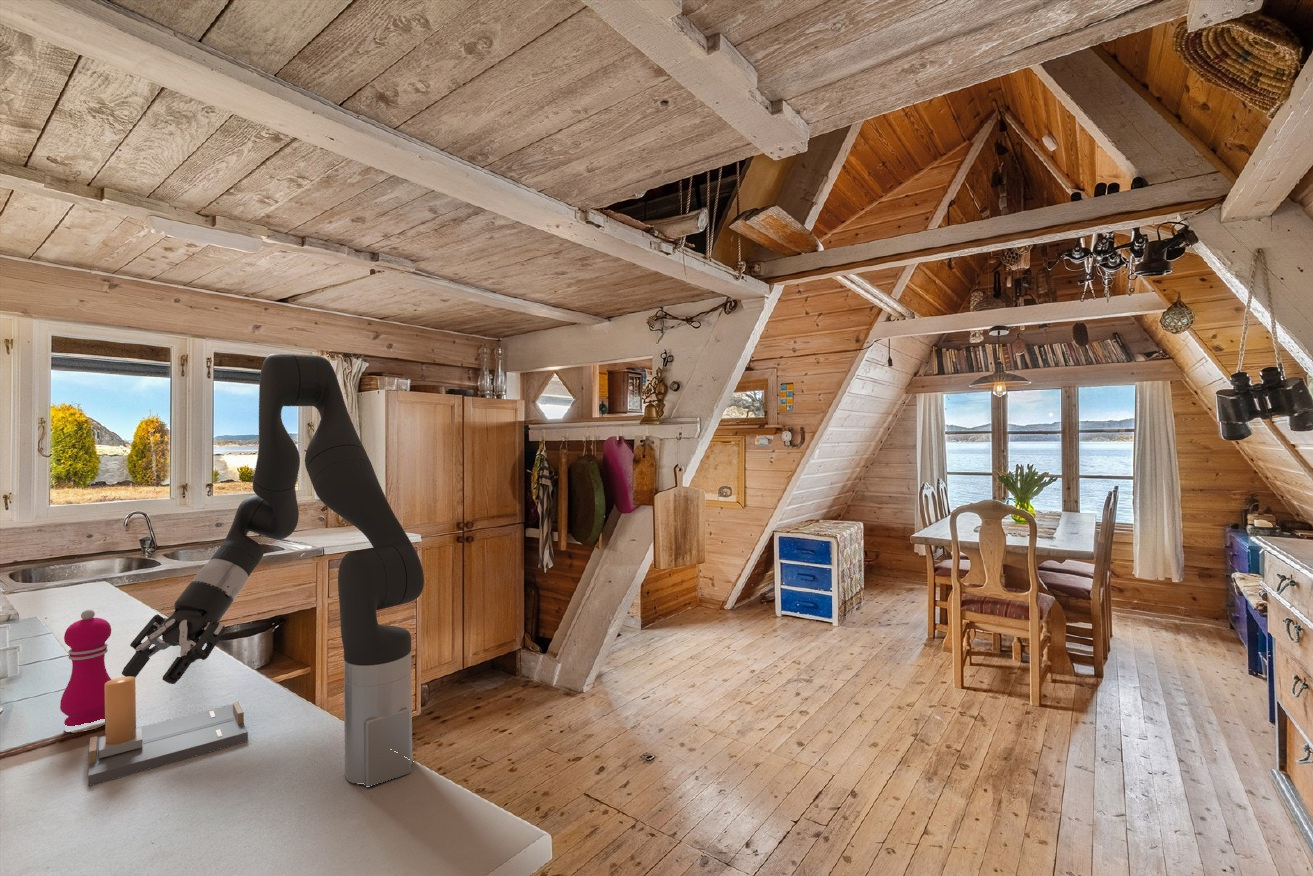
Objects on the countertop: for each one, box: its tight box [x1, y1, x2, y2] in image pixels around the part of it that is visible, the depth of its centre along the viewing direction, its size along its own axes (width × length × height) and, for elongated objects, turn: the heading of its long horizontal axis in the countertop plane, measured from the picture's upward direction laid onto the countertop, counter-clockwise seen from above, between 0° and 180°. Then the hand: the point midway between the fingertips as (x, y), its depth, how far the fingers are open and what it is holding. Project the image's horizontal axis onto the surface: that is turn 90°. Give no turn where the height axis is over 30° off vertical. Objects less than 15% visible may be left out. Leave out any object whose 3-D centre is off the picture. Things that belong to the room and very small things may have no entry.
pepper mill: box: [59, 609, 112, 726], centre depth 107 cm, size 7×7×20 cm
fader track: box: [87, 701, 249, 787], centre depth 100 cm, size 14×19×3 cm
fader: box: [99, 676, 143, 758], centre depth 96 cm, size 5×5×10 cm
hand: (147, 679), depth 100 cm, fingers open, 8 cm apart
